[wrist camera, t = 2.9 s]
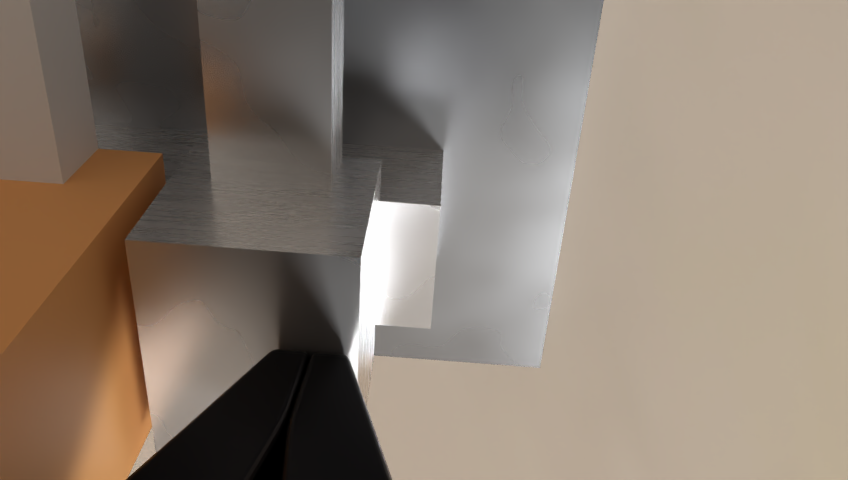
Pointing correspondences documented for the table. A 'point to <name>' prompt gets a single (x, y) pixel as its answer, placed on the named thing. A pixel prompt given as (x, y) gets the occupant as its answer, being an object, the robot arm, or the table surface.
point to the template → (340, 178)
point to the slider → (65, 262)
